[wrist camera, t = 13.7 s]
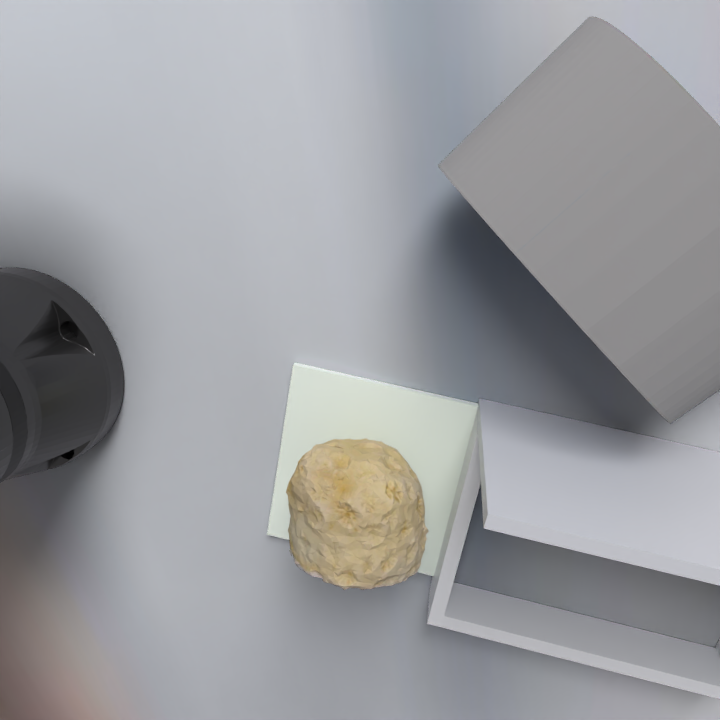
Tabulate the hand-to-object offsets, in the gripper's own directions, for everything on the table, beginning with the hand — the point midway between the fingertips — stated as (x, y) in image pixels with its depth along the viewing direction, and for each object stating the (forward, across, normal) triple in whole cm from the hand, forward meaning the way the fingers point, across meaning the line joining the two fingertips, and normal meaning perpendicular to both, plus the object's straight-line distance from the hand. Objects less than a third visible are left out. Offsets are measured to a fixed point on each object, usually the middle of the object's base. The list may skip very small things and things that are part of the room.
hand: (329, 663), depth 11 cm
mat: (+33, -1, -14) cm, 36 cm away
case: (+33, +16, -15) cm, 39 cm away
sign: (+33, +10, +6) cm, 35 cm away
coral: (+32, -1, -14) cm, 35 cm away
